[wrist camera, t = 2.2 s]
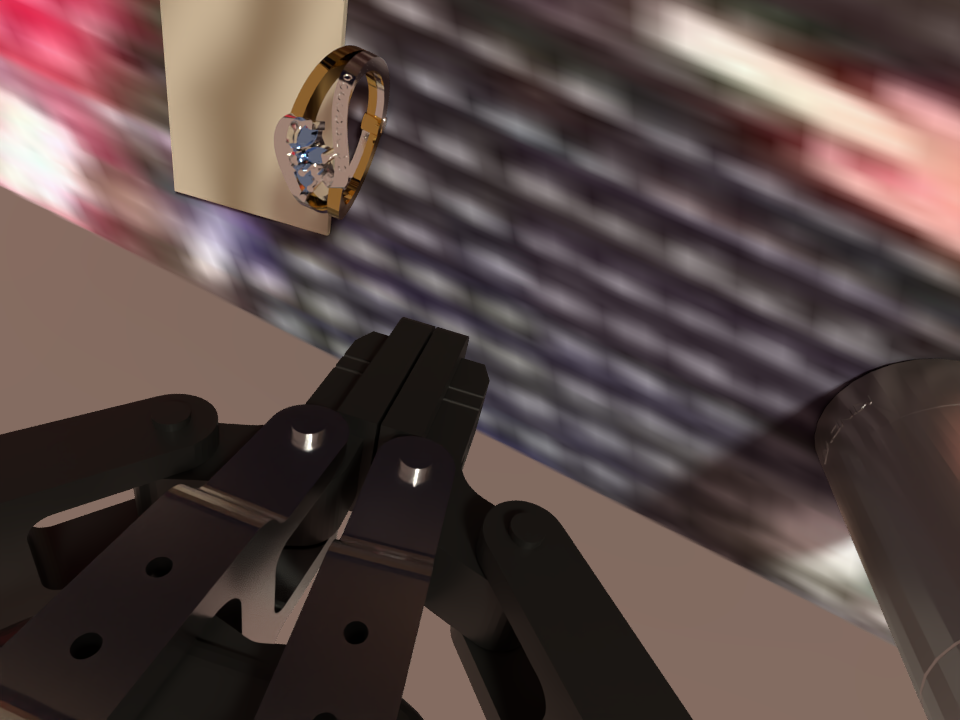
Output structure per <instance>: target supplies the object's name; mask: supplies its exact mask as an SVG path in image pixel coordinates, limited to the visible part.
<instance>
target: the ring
mask: <svg viewBox="0 0 960 720" xmlns="http://www.w3.org/2000/svg"><path fill="white" fill-rule="evenodd" d="M365 74H366V77H367V80H368V86H369V100H368V108H367V112H366V113H365V114H364V117H363V120H362V124H361V129H362V134H361V137H360V140H359V143H358V146H357V149H356V152H355V154H354V157H353V159H352V161H351V163H350V165H349V149H348V109H349V103H350V99H351V96H352V93H353V90H354V88H355V86H356V84H357V83H358V81H359V80H360V79H361V78H362V76H363V75H365ZM338 78H339V79H338ZM337 79H338V82H337V84H336V88H335V92H334V97H333V104H332V138H333V148H330V147H328V146H326V145H325V143H324V140H323V138H322V132H323V130H325V121H316V117H317V114H318V111H319V109H320V106H321V104H322V102H323V100H324V98H325V96H326V94H327V92H328V91H329V89H330V88H331V86H332V85H333V84H334V83H335V81H336V80H337ZM389 93H390V77H389V71H388V67H387V64H386V62H385V61H384V60H383V59H382V58H380V57H379V56H377V55H375V54H373V53H371V52H369V51H366V50H364V49H362V48H360V47H357V46H352V45H348V46H343V47H340V48H338V49H336V50H334V51H332V52H331V53H329V54H328V55H327V56H326V57H324V58H323V59H322V60H321V61H320V62H319V64H318V65H317V66H316V67H315V68H314V70H313V71H312V72H311V74H310V75H309V77H308V78H307V80H306V81H305V83H304V85H303V86H302V88H301V90H300V92H299V94H298V96H297V98H296V100H295V103H294V105H293V108H292V110H291V113H290V114H287V115H285V116H284V117H282V118H281V119H280V120H279V122H278V124H277V126H276V128H275V132H274V150H275V154H276V158H277V161H278V164H279V167H280V169H281V172H282V174H283V177H284V179H285V181H286V183H287V185H288V187H289V189H290V191H291V193H292V195H293V196H294V198H295V199H296V200H297V201H298V202H299V203H300V204H301V205H303V206H305V207H307V208H309V209H312V210H314V211H316V212H319V213H328V215H329V216H332V217H334V218H337V219H339V220H342V219H343V218H344V217H345V215H346V214H347V212H348V211H349V209H350V208H351V206H352V204H353V202H354V200H355V199H356V197H357V195H358V193H359V191H360V188H361V186H362V184H363V182H364V180H365V177H366V175H367V173H368V170H369V168H370V165H371V162H372V160H373V157H374V154H375V151H376V148H377V145H378V142H379V139H380V136H381V134H383V132H384V130H385V127H386V123H387V117H386V114H387V108H388V102H389ZM297 129H301V130H300V131H299V133H298V135H297V141H296V143H294V137H295V132H296V131H297ZM307 148H309V149H307ZM300 151H301V152H300ZM296 152H299V153H296ZM333 159H334V160H335V170H334V169H333V165H332V164H331V160H333ZM322 181H323V183H324V185H325V186H326V187H327V188H329V190H328V195H326V196H322V197H317V196H316V195H315V193H314V192H313V191H314V190H315V189H316V188H317V187H318V186H319V185H320V184H321V182H322Z"/></svg>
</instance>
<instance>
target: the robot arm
mask: <svg viewBox="0 0 960 720" xmlns="http://www.w3.org/2000/svg"><path fill="white" fill-rule="evenodd" d="M468 341H469V336H466V335H463V334H459V333H456V332H453V331H449V330H446V329H442V328H439V327H437V328H436V329H435V326H432V325H429V324H425V323H422V322H419V321H415V320H412V319H409V318H405V317H402V318H401V320H400V321H399V322H398V324H397V325H396V327H395V328H394V330H393V331H392V333H391V334H390V335H389V336H387V335H384V334H381V333H377V332H374V331H373V332H371V333H369V334H367V335H365V336H363V337H361V338H359V339H357V340H355V341H354V343H353V344H352V345H351V346H350V348H349V349H348V350H347V351H346V353H345V355H344V357H342V358H341V359H340V360H339V362H338V363H337V364H336V367H335V368H333V369H332V371H331V372H330V373H329V374H328V376H327V377H326V378H325V380H324V381H323V382H322V383H321V385H320V386H319V387H318V388H317V390H316V391H315V392H314V394H313V395H312V396H311V397H310V399H309V400H308V401H307V402H306V404H303V405H296V406H292V407H288V408H285V409H283V410H281V411H279V412H278V413H276V414H275V415H274V416H273V417H272V418H271V419H270V420H269V421H268V422H267V423H266V424H265V425H239V424H224V423H218V415H217V412H216V409H215V408H214V407H213V405H212V404H210V403H209V402H207V401H206V400H204V399H202V398H199V397H197V396H192V395H186V394H168V395H162V396H157V397H153V398H149V399H145V400H141V401H136V402H132V403H129V404H125V405H120V406H116V407H112V408H108V409H104V410H100V411H95V412H91V413H87V414H84V415H79V416H75V417H71V418H67V419H63V420H59V421H54V422H50V423H46V424H42V425H38V426H34V427H30V428H26V429H22V430H18V431H14V432H9V433H6V434H1V435H0V720H423V718H422V717H421V716H420V714H419V713H418V712H417V711H416V710H415V709H414V708H413V707H412V706H410V705H409V704H408V703H407V702H406V701H405V700H404V699H403V698H402V695H403V691H404V687H405V683H406V678H407V674H408V669H409V666H410V662H411V658H412V653H413V649H414V645H415V641H416V636H417V633H418V628H419V624H420V620H421V616H422V611H423V607H424V606H425V607H427V608H428V609H429V610H430V611H432V612H433V613H434V614H436V615H437V616H438V617H440V618H441V619H442V620H444V621H445V622H447V623H448V624H449V625H451V630H450V631H451V637H452V640H453V643H454V646H455V648H456V650H457V653H458V655H459V657H460V659H461V662H462V664H463V666H464V669H465V671H466V673H467V675H468V678H469V680H470V683H471V685H472V687H473V689H474V692H475V694H476V696H477V699H478V701H479V703H480V706H481V708H482V710H483V713H484V715H485V717H486V719H487V720H693V719H692V718H691V716H690V715H689V713H688V712H687V710H686V709H685V707H684V706H683V704H682V703H681V701H680V700H679V698H678V697H677V695H676V694H675V693H674V691H673V690H672V688H671V686H670V685H669V684H668V682H667V681H666V679H665V678H664V676H663V675H662V673H661V672H660V670H659V669H658V667H657V666H656V664H655V663H654V661H653V660H652V658H651V657H650V655H649V654H648V652H647V651H646V650H645V648H644V647H643V645H642V644H641V642H640V641H639V639H638V638H637V636H636V635H635V633H634V632H633V630H632V629H631V627H630V626H629V624H628V623H627V621H626V620H625V618H624V617H623V615H622V614H621V612H620V611H619V609H618V608H617V606H616V605H615V604H614V602H613V601H612V599H611V598H610V596H609V595H608V593H607V592H606V590H605V589H604V587H603V586H602V584H601V583H600V581H599V580H598V578H597V577H596V575H595V574H594V572H593V571H592V569H591V568H590V566H589V565H588V564H587V562H586V560H585V559H584V558H583V556H582V555H581V553H580V552H579V550H578V549H577V547H576V546H575V544H574V543H573V541H572V540H571V538H570V537H569V535H568V534H567V532H566V531H565V529H564V528H563V526H562V525H561V524H560V522H559V521H558V520H557V519H556V518H555V517H554V516H553V515H552V514H551V513H550V512H548V511H547V510H545V509H544V508H542V507H540V506H538V505H535V504H533V503H529V502H525V501H507V502H503V503H500V504H498V505H496V506H495V505H493V504H492V503H490V502H488V501H487V500H485V499H483V498H482V497H481V496H480V495H478V494H477V493H476V492H475V491H474V490H473V489H472V488H471V487H470V486H469V484H468V483H467V481H466V480H465V477H464V475H463V472H462V469H463V466H464V463H465V461H466V458H467V455H468V452H469V449H470V446H471V443H472V440H473V437H474V434H475V431H476V427H477V424H478V420H479V417H480V413H481V410H482V406H483V402H484V399H485V395H486V392H487V388H488V384H489V377H488V374H487V371H486V367H485V365H484V364H480V363H477V362H474V361H470V360H467V359H465V354H466V350H467V346H468ZM815 450H816V453H817V455H818V458H819V461H820V463H821V465H822V468H823V470H824V473H825V475H826V478H827V480H828V482H829V485H830V487H831V490H832V492H833V494H834V497H835V499H836V502H837V505H838V507H839V510H840V512H841V514H842V517H843V519H844V522H845V524H846V526H847V529H848V531H849V534H850V536H851V538H852V541H853V543H854V545H855V548H856V550H857V553H858V555H859V557H860V560H861V562H862V565H863V567H864V569H865V572H866V574H867V576H868V579H869V581H870V584H871V586H872V588H873V591H874V593H875V596H876V598H877V600H878V603H879V605H880V607H881V610H882V612H883V615H884V617H885V619H886V622H887V624H888V627H889V629H890V631H891V634H892V636H893V638H894V641H895V643H896V646H897V648H898V650H899V653H900V655H901V658H902V660H903V662H904V665H905V667H906V669H907V672H908V674H909V677H910V679H911V681H912V684H913V686H914V689H915V691H916V693H917V696H918V698H919V700H920V703H921V705H922V707H923V709H924V712H925V714H926V716H927V719H928V720H960V361H956V360H947V359H918V360H911V361H906V362H901V363H896V364H892V365H889V366H886V367H883V368H881V369H878V370H875V371H872V372H870V373H868V374H866V375H865V376H863V377H861V378H859V379H857V380H855V381H854V382H852V383H851V384H849V385H848V386H847V387H846V388H844V389H843V390H842V391H841V392H839V393H838V394H837V395H836V396H835V397H834V398H833V399H832V401H831V402H830V403H829V404H828V405H827V406H826V408H825V409H824V411H823V413H822V415H821V417H820V419H819V420H818V423H817V427H816V432H815ZM132 488H133V489H134V494H135V499H132V500H129V501H126V502H123V503H120V504H117V505H114V506H111V507H108V508H105V509H102V510H99V511H96V512H93V513H90V514H87V515H84V516H81V517H78V518H75V519H72V520H69V521H66V522H63V523H60V524H57V525H54V526H51V527H44V528H36V527H33V526H34V525H35V524H36V523H37V522H39V521H40V520H42V519H43V518H45V517H47V516H50V515H52V514H56V513H58V512H62V511H65V510H68V509H71V508H74V507H77V506H80V505H83V504H86V503H89V502H92V501H96V500H99V499H101V498H105V497H108V496H111V495H114V494H117V493H120V492H123V491H126V490H129V489H132ZM348 511H352V513H351V515H350V518H349V520H348V522H347V525H346V527H345V529H344V532H343V534H342V536H341V538H340V540H337V539H336V538H337V532H338V529H339V527H340V525H341V524H342V522H343V520H344V518H345V516H346V514H347V512H348ZM318 569H319V571H318ZM317 571H318V573H317ZM316 573H317V575H316V578H315V580H314V582H313V584H312V587H311V589H310V592H309V594H308V596H307V598H306V601H305V603H304V605H303V607H302V610H301V612H300V614H299V617H298V619H297V621H296V624H295V626H294V628H293V631H292V633H291V635H290V637H289V640H288V642H287V644H286V645H285V644H275V641H276V639H277V636H278V634H279V632H280V630H281V628H282V626H283V624H284V623H285V621H286V619H287V618H288V616H289V615H290V613H291V612H292V610H293V608H294V607H295V605H296V604H297V602H298V601H299V599H300V598H301V596H302V594H303V593H304V591H305V589H306V588H307V587H308V585H309V583H310V582H311V580H312V579H313V577H314V576H315V574H316Z"/></svg>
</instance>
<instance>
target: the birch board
mask: <svg viewBox="0 0 960 720" xmlns="http://www.w3.org/2000/svg"><path fill="white" fill-rule="evenodd" d="M160 5H161V18H162V31H163V44H164V57H165V70H166V83H167V96H168V108H169V121H170V134H171V147H172V160H173V173H174V186H175V191H177V192H180V193H184V194H187V195H190V196H194V197H197V198H201V199H204V200H207V201H211V202H214V203H218V204H221V205H224V206H228V207H231V208H235V209H238V210H241V211H245V212H248V213H252V214H255V215H258V216H262V217H265V218H268V219H272V220H275V221H279V222H282V223H285V224H289V225H292V226H296V227H299V228H302V229H306V230H309V231H313V232H316V233H319V234H323V235H326V236H327V235H329V234H330V229H331V216H329V215H328V213H319V212H316V211H314V210H312V209H309V208H307V207H305V206H303V205H301V204H300V203H299V202H298V201H297V200H296V199H295V198H294V196H293V195H292V193H291V191H290V189H289V187H288V185H287V183H286V181H285V179H284V177H283V174H282V172H281V169H280V167H279V164H278V161H277V158H276V154H275V150H274V132H275V128H276V126H277V124H278V122H279V120H280V119H281V118H282V117H284V116H285V115H287V114H290V113H291V110H292V108H293V105H294V103H295V100H296V98H297V96H298V94H299V92H300V90H301V88H302V86H303V85H304V83H305V81H306V80H307V78H308V77H309V75H310V74H311V72H312V71H313V70H314V68H315V67H316V66H317V65H318V64H319V62H320V61H321V60H322V59H323V58H324V57H326V56H327V55H328V54H329V53H331V52H332V51H334V50H336V49H338V48H340V47H343V46H344V45H345V32H346V19H347V6H348V0H160ZM338 79H339V78H338ZM338 79H337V80H336V81H335V83H334V84H333V85H332V86H331V88H330V89H329V91H328V92H327V94H326V96H325V98H324V100H323V102H322V104H321V106H320V109H319V111H318V114H317V117H316V121H325V130H323V132H322V138H323V140H324V143H325V145H326V146H328V147H330V148H333V138H332V104H333V97H334V92H335V88H336V84H337V82H338ZM300 130H301V129H297V131H296V132H295V137H294V143H296V141H297V135H298V133H299V131H300ZM307 149H309V148H307ZM300 152H301V151H300ZM296 153H299V152H296ZM331 164H332V165H333V169H334V170H335V160H334V159H333V160H331ZM328 190H329V188H327V187H326V186H325V185H324V183H323V181H322V182H321V184H320V185H319V186H318V187H317V188H316V189H315V190H314V191H313V192H314V193H315V195H316V196H317V197H322V196H326V195H328Z"/></svg>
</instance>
